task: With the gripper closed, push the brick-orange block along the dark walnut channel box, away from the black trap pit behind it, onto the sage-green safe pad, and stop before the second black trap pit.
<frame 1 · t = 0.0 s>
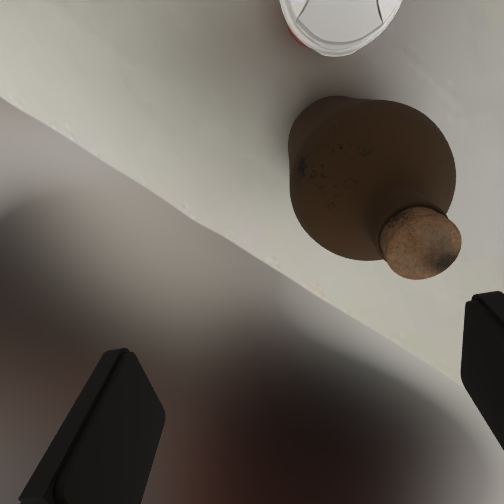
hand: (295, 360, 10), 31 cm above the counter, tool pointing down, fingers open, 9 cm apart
olive oil: (331, 143, 37), on the counter
paper cup: (316, 13, 32), on the counter
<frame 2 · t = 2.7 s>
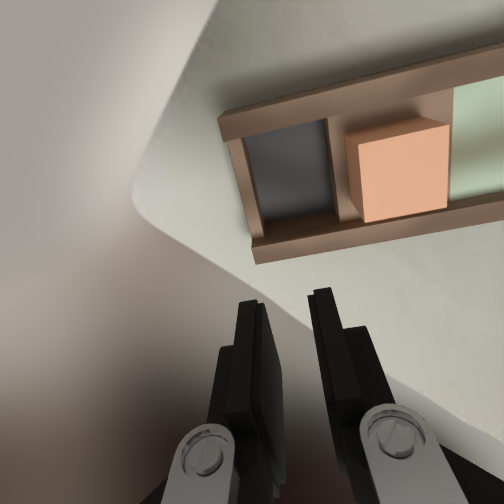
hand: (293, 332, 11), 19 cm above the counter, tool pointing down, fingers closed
block: (384, 161, 24), point 3 cm above the counter, touching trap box
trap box: (426, 141, 26), on the counter
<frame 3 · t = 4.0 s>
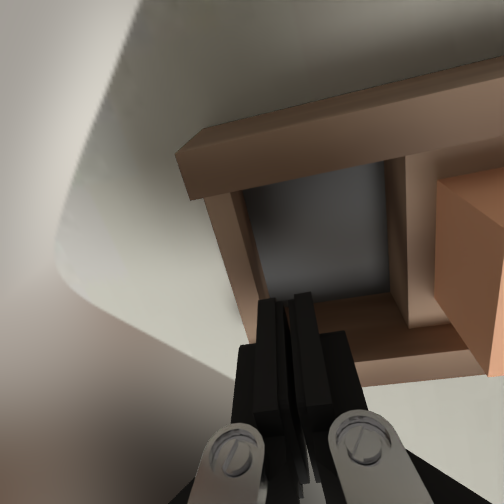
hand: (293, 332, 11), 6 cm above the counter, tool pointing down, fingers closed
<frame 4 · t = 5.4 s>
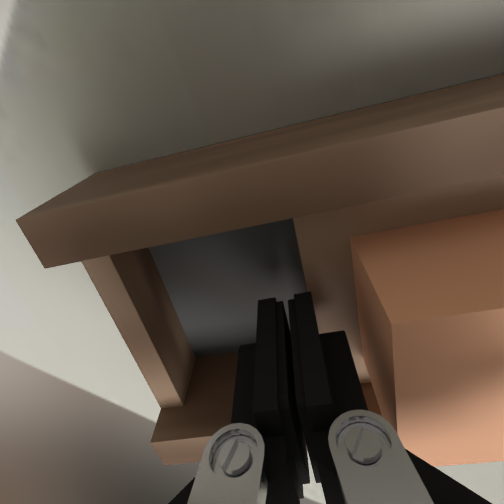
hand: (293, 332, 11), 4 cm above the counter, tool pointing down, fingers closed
block: (435, 290, 11), point 3 cm above the counter, touching gripper
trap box: (496, 228, 13), on the counter
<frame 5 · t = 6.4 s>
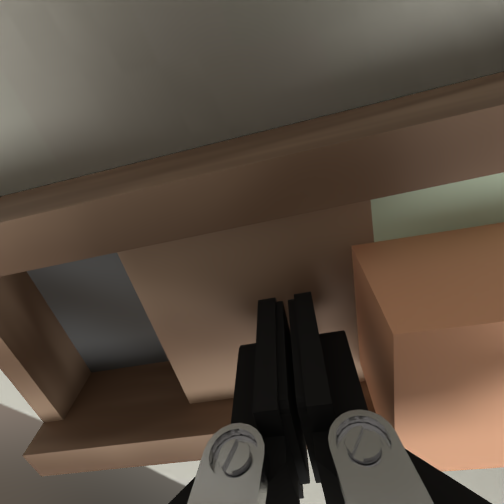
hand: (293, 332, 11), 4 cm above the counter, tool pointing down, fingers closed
block: (432, 299, 11), point 3 cm above the counter, touching gripper, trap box
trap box: (345, 254, 14), on the counter
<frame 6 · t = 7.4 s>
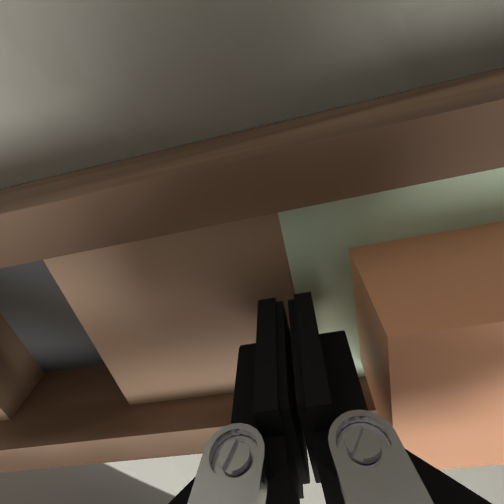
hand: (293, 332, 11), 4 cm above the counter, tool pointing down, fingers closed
block: (431, 299, 11), point 3 cm above the counter, touching gripper, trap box
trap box: (280, 261, 14), on the counter
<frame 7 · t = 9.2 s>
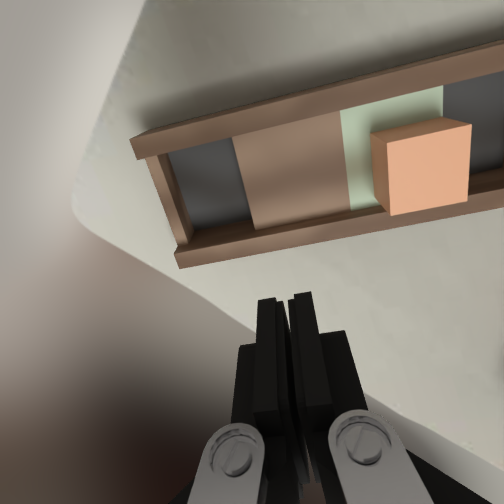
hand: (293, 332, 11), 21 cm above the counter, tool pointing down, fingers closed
block: (406, 159, 26), point 3 cm above the counter, touching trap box
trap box: (332, 155, 29), on the counter
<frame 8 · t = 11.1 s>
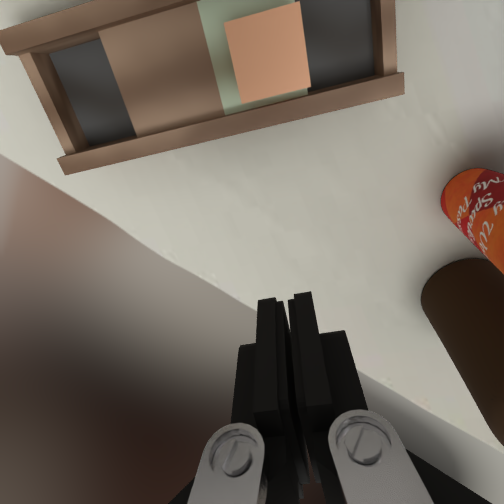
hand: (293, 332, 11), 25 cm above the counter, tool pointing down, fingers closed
olive oil: (462, 292, 39), on the counter
block: (268, 57, 26), point 3 cm above the counter, touching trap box
paper cup: (468, 195, 34), on the counter
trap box: (211, 64, 29), on the counter
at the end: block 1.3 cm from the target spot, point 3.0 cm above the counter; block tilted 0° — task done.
